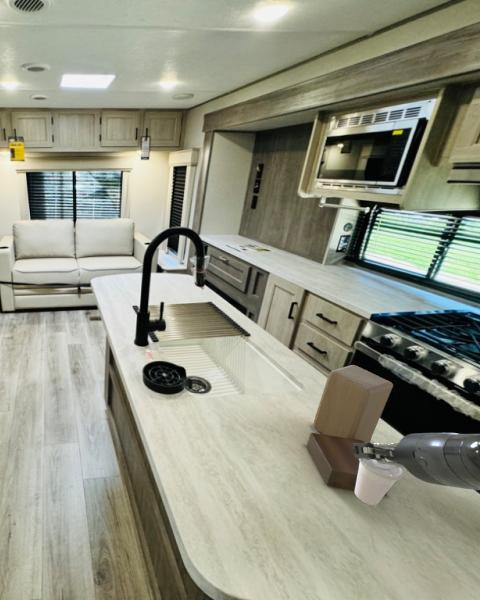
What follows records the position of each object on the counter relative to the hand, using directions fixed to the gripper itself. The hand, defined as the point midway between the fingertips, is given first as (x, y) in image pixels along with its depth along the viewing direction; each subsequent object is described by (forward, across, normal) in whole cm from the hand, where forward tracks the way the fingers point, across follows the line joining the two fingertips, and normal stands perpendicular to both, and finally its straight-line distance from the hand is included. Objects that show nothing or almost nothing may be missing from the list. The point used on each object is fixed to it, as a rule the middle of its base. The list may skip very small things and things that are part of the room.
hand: (376, 454), depth 63 cm
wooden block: (+30, -9, -6) cm, 32 cm away
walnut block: (+21, -4, +3) cm, 22 cm away
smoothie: (+6, 0, +8) cm, 10 cm away
